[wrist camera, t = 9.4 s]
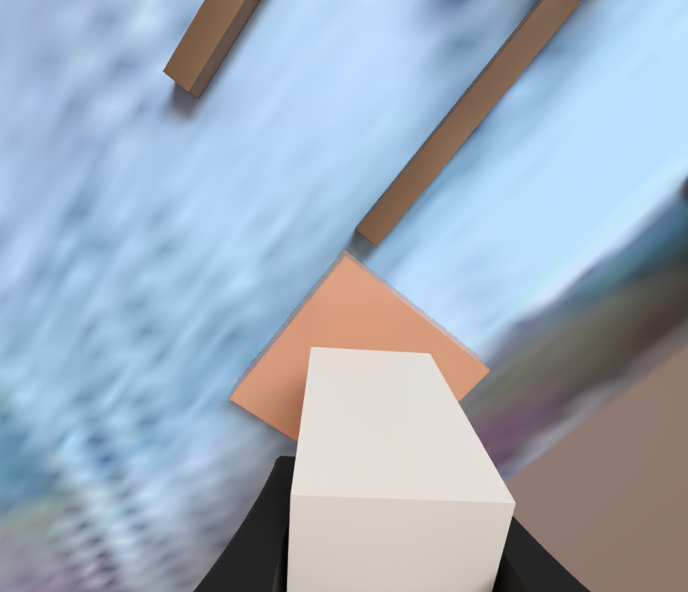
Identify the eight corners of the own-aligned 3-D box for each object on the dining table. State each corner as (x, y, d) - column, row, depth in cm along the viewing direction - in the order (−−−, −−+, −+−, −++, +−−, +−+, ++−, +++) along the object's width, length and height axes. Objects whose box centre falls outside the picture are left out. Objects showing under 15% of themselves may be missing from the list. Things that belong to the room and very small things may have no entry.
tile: (477, 355, 17) (490, 370, 16) (367, 465, 19) (370, 488, 17) (344, 249, 15) (345, 256, 14) (237, 380, 17) (228, 399, 16)
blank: (430, 353, 12) (516, 503, 6) (407, 495, 14) (459, 712, 8) (311, 346, 12) (290, 494, 6) (303, 490, 14) (282, 709, 8)
